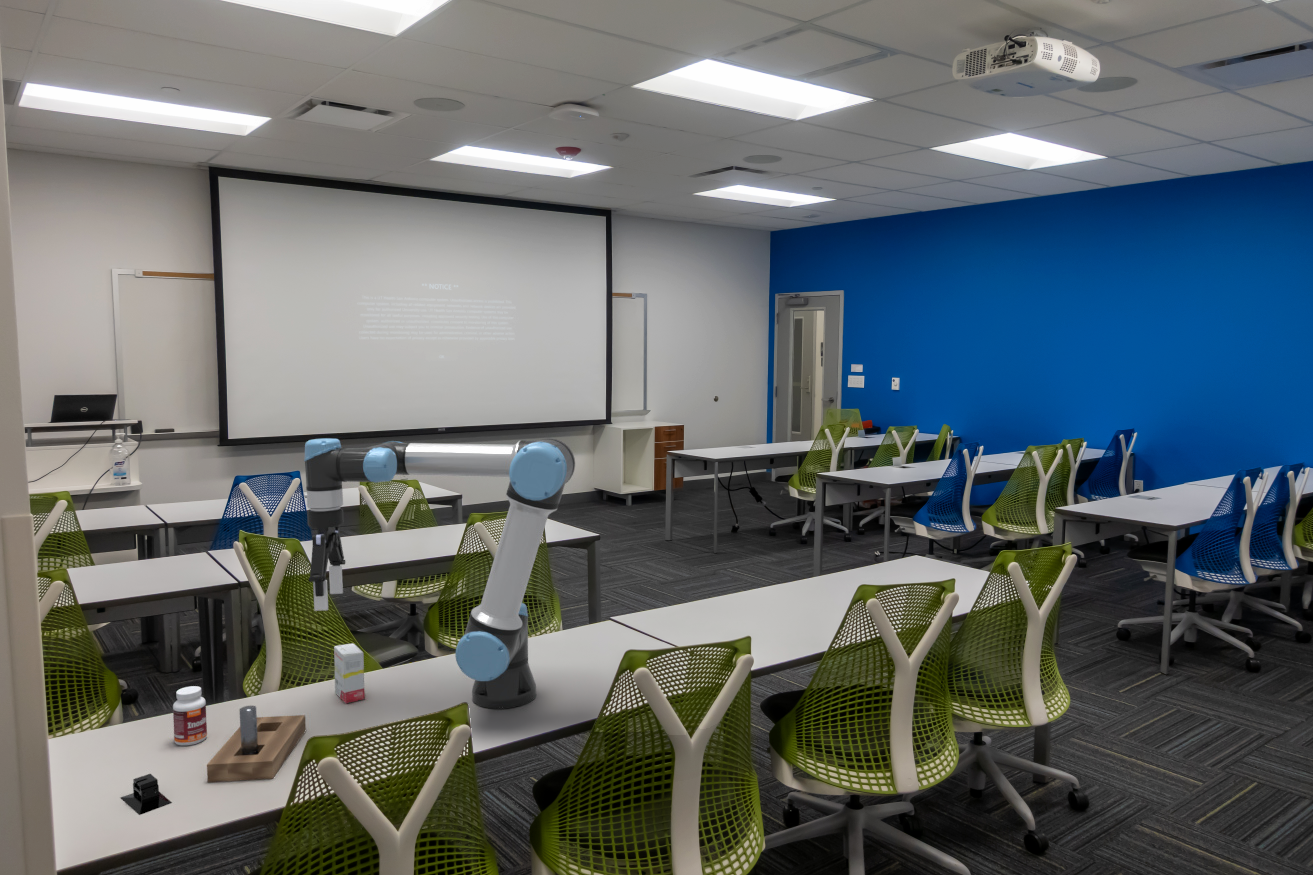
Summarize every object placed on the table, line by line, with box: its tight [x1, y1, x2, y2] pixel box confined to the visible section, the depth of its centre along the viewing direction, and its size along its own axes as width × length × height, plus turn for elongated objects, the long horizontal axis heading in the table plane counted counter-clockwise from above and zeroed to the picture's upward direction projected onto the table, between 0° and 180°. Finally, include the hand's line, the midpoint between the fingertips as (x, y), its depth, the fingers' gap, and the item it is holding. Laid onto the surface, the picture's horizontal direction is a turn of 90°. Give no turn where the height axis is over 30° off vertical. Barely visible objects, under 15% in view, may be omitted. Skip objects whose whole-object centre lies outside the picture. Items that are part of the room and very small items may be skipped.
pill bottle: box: [172, 685, 208, 747], centre depth 184 cm, size 6×6×11 cm
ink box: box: [333, 643, 366, 704], centre depth 208 cm, size 9×5×12 cm, turn 36°
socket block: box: [206, 714, 307, 783], centre depth 177 cm, size 12×22×4 cm, turn 6°
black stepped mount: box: [119, 773, 173, 816], centre depth 159 cm, size 12×7×5 cm, turn 49°
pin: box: [238, 705, 258, 755], centre depth 171 cm, size 3×3×12 cm
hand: (329, 601), depth 194 cm, fingers open, 13 cm apart
